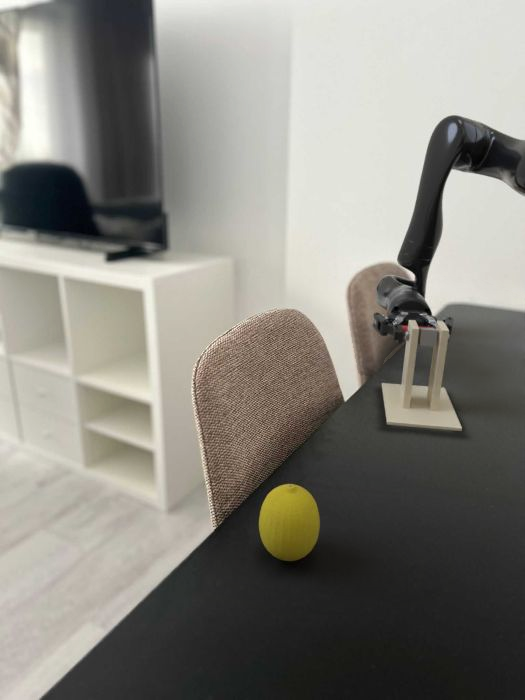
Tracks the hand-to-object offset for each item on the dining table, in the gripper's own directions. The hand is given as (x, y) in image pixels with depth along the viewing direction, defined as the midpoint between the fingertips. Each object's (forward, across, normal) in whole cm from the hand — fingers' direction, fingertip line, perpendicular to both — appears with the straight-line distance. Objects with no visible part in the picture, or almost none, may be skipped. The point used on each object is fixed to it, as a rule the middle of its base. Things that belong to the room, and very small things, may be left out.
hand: (419, 338), depth 81 cm
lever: (+3, 0, 0) cm, 3 cm away
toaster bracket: (+7, 0, +10) cm, 12 cm away
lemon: (+41, -16, +10) cm, 45 cm away
